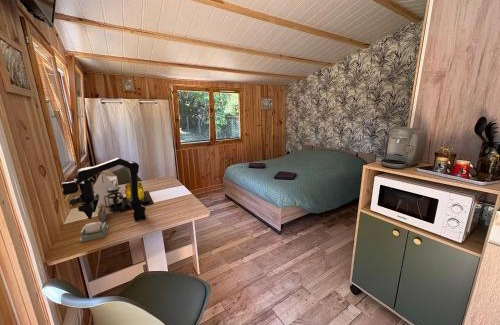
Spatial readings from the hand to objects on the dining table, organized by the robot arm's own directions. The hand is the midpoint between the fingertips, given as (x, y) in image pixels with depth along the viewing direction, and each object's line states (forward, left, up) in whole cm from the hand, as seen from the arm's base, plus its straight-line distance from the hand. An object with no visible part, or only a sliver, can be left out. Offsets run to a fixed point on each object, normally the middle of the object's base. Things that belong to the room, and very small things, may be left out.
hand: (92, 215), depth 124 cm
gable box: (+1, -55, -12) cm, 56 cm away
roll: (0, 0, -11) cm, 11 cm away
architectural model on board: (0, -20, -12) cm, 23 cm away
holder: (0, 0, -12) cm, 12 cm away
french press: (-6, -32, -12) cm, 35 cm away
